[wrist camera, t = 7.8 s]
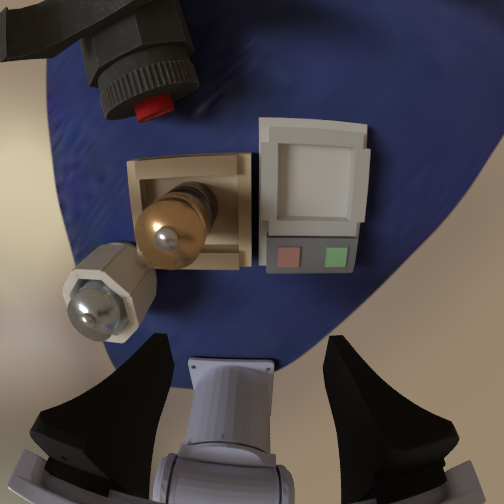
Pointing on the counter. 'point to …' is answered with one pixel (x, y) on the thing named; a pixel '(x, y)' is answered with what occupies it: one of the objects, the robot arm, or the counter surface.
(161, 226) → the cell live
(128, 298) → the cup
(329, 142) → the cradle
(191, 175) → the tan square tray
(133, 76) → the laser sight
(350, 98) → the counter surface
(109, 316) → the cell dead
